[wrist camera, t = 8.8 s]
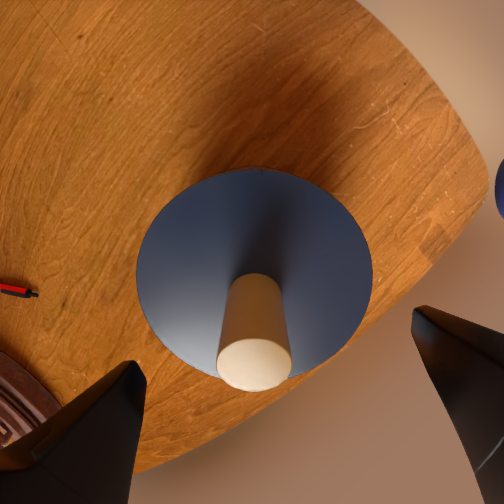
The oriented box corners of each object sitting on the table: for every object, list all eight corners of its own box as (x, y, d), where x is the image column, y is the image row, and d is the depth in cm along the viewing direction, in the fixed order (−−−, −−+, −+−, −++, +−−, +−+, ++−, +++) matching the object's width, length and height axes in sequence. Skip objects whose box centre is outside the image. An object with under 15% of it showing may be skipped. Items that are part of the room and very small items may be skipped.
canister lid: (351, 147, 11) (417, 151, 6) (367, 347, 15) (400, 419, 10) (114, 202, 12) (40, 239, 7) (185, 379, 16) (166, 453, 11)
